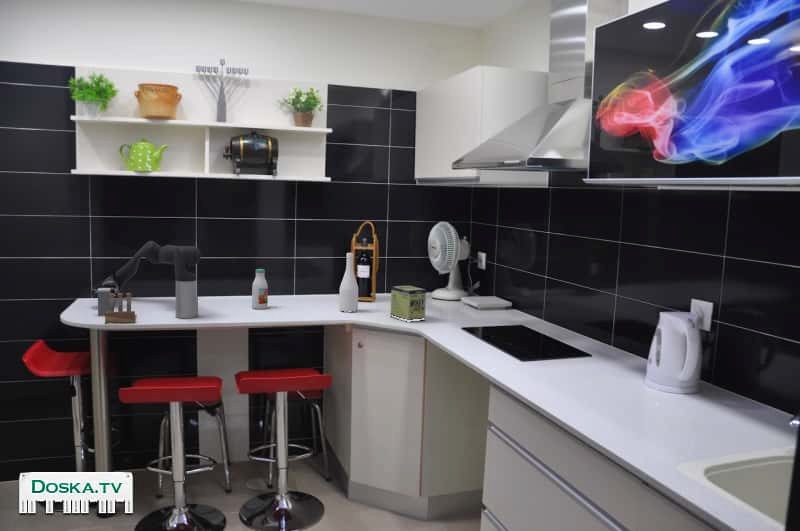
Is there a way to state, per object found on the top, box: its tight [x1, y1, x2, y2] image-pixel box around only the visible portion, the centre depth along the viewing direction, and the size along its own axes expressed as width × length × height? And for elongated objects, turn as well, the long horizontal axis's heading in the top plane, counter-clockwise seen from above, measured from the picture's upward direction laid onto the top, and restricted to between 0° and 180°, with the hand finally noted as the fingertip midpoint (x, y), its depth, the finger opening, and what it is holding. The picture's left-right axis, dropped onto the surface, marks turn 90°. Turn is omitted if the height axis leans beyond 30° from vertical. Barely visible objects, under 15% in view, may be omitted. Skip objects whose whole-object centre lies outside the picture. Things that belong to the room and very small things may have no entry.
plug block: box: [97, 287, 111, 317], centre depth 304 cm, size 5×5×12 cm
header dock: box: [104, 292, 137, 325], centre depth 295 cm, size 16×12×13 cm
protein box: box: [389, 285, 427, 320], centre depth 322 cm, size 10×16×16 cm
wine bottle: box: [338, 252, 359, 313], centre depth 334 cm, size 10×10×30 cm
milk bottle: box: [251, 268, 269, 310], centre depth 334 cm, size 8×8×20 cm
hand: (106, 294), depth 315 cm, fingers open, 8 cm apart
